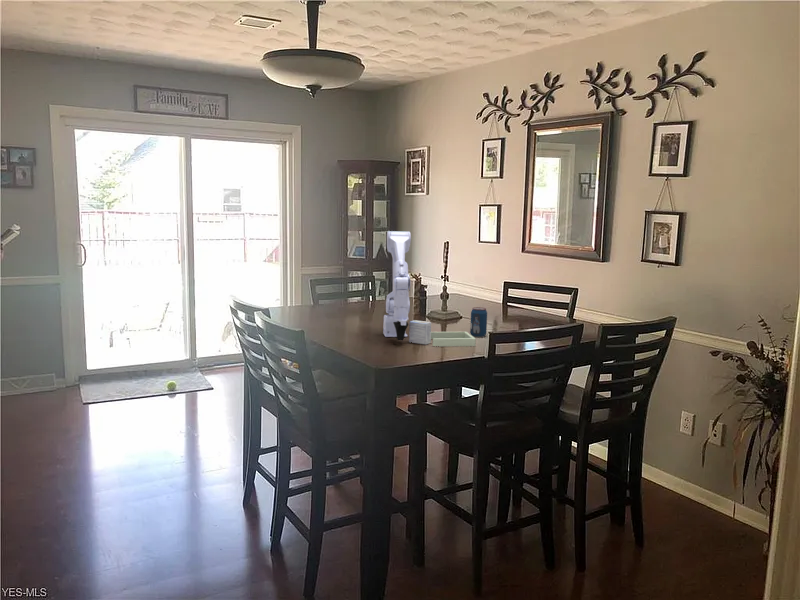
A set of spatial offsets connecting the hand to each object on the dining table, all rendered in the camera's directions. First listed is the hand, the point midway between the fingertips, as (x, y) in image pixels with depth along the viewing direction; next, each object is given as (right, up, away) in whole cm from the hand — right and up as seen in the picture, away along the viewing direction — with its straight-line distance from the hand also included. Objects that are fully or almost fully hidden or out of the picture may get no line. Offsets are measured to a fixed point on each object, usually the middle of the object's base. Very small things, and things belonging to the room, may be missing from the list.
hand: (400, 339), depth 255 cm
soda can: (+33, 0, +19) cm, 38 cm away
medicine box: (+8, -2, +1) cm, 8 cm away
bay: (+20, -1, +3) cm, 20 cm away
